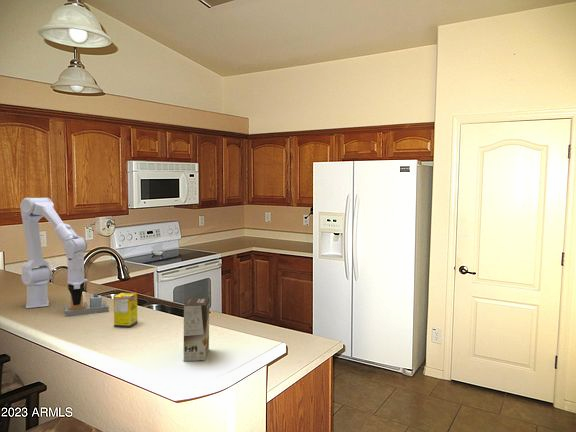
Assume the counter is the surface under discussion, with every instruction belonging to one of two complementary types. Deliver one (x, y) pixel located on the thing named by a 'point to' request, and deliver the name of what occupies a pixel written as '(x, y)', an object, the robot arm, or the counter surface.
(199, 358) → the coffee box
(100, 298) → the seated plug
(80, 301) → the orange plug
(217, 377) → the counter surface
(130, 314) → the supplement box
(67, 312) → the e-shaped shelf rack
